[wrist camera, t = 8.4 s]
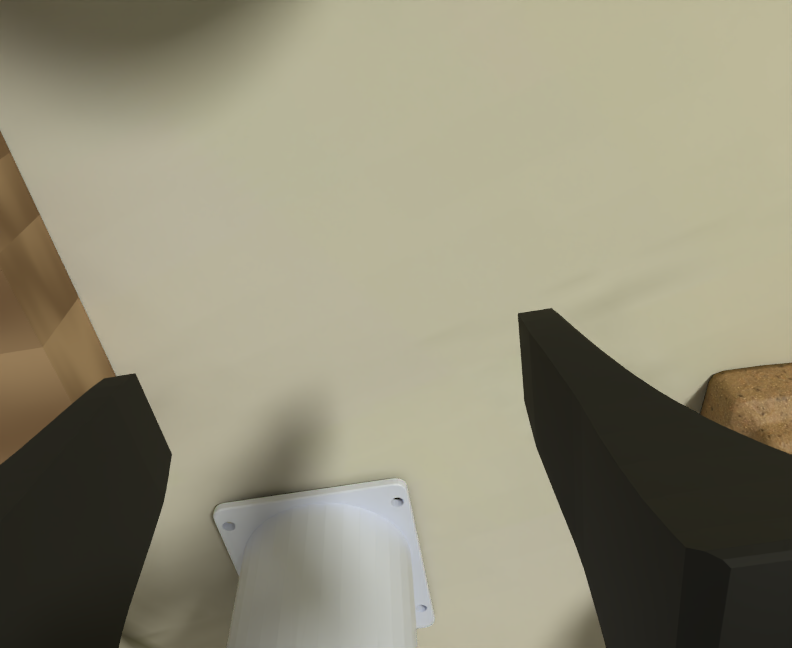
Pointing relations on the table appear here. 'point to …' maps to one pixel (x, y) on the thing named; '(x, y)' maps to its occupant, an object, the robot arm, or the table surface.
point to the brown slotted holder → (37, 321)
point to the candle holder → (753, 403)
